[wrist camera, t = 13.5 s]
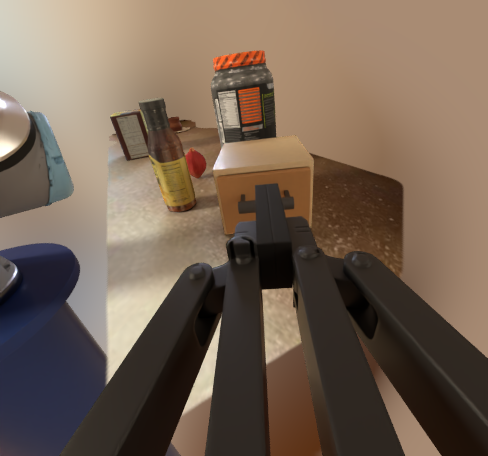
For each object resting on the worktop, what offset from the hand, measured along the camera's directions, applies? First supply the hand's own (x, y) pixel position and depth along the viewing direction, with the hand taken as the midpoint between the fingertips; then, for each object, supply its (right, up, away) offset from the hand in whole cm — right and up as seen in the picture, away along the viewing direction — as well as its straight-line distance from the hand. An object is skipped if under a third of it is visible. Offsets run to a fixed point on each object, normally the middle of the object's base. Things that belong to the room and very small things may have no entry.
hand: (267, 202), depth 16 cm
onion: (-14, +12, +48) cm, 51 cm away
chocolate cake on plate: (-41, +54, +122) cm, 140 cm away
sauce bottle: (-14, +2, +34) cm, 37 cm away
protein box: (-43, +28, +81) cm, 96 cm away
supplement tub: (0, +17, +54) cm, 57 cm away
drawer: (+2, +1, +25) cm, 25 cm away
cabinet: (+2, +2, +29) cm, 29 cm away
